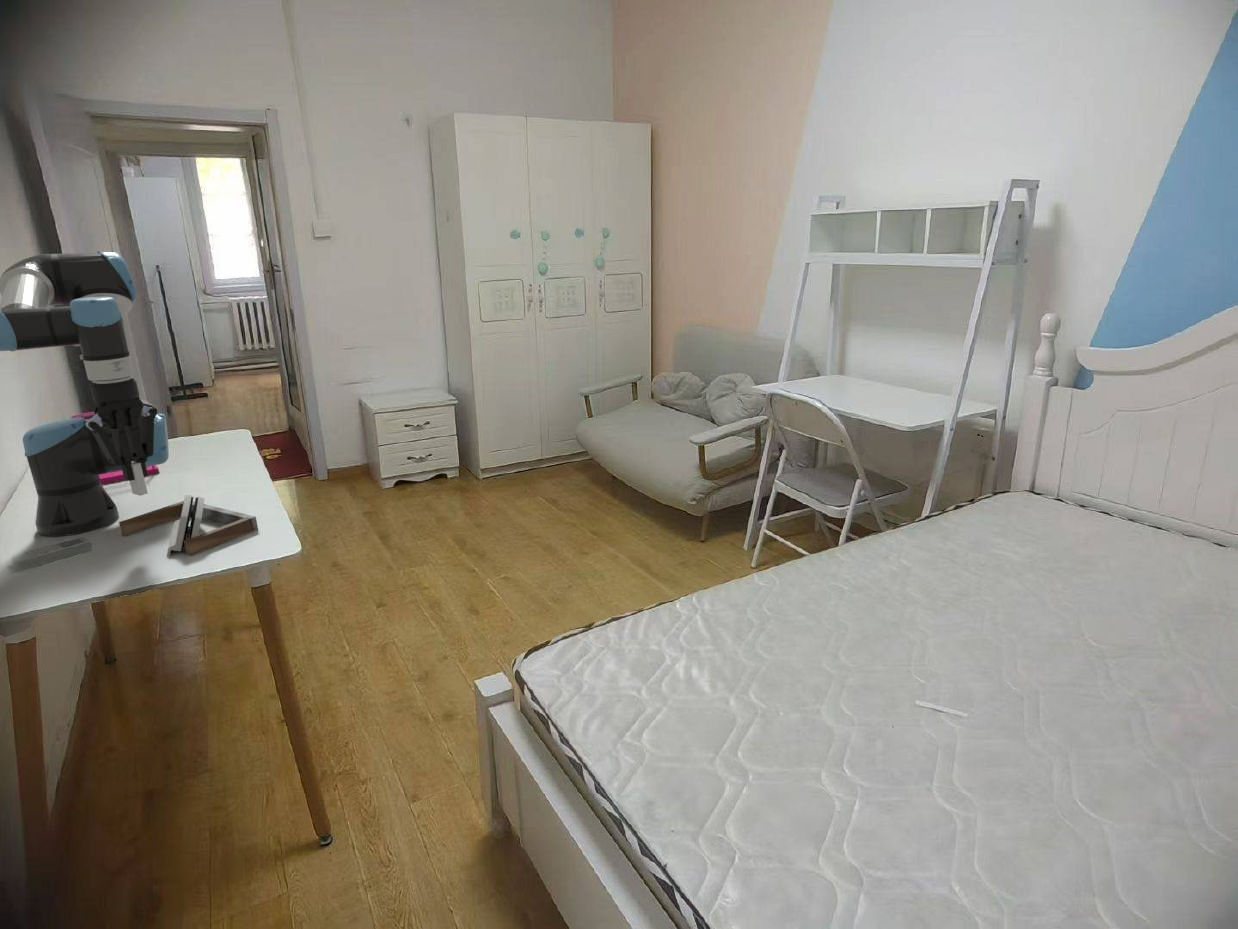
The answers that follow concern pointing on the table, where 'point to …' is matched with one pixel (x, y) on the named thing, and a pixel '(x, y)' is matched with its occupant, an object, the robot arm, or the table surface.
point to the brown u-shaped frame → (232, 520)
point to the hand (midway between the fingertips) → (140, 493)
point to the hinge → (186, 523)
